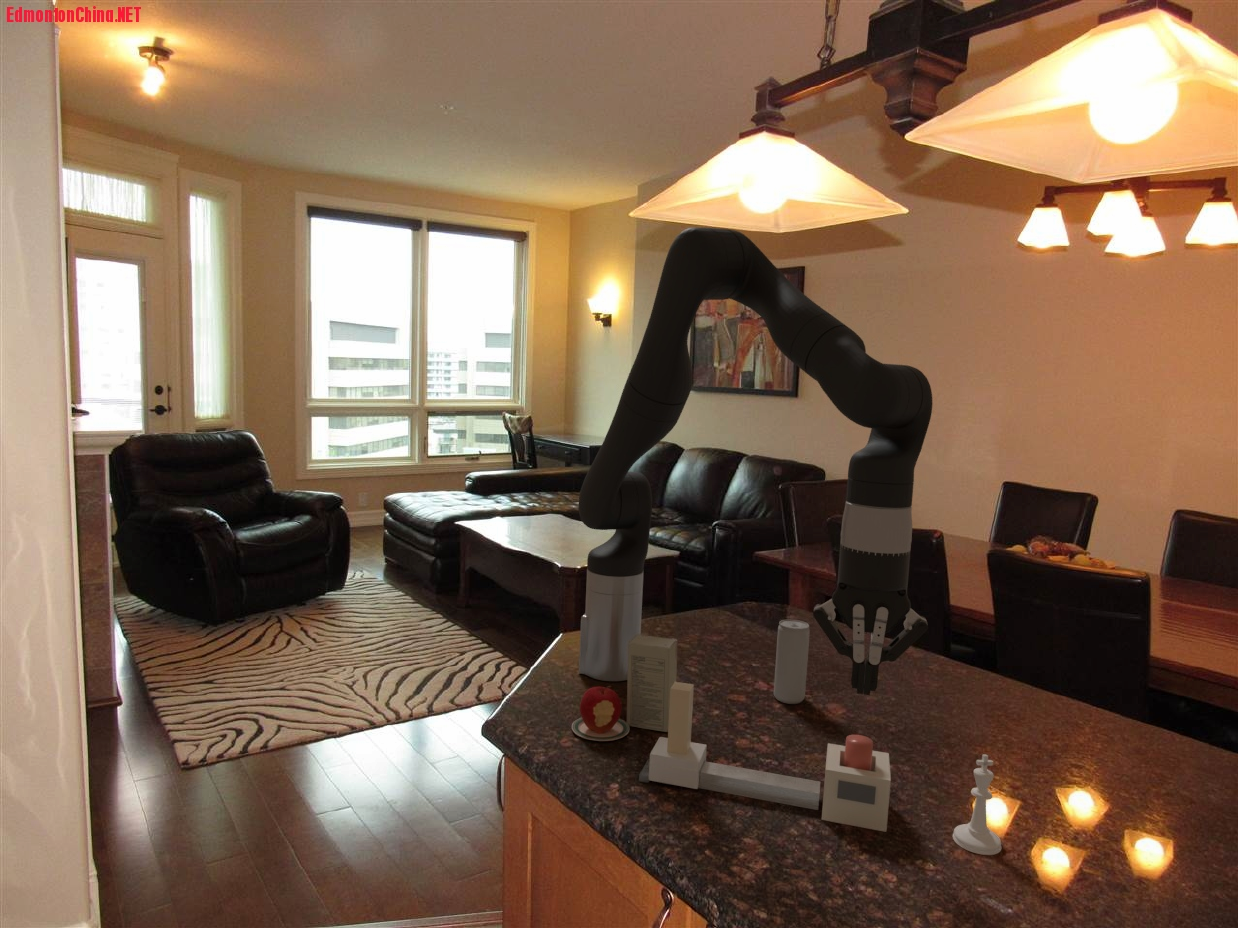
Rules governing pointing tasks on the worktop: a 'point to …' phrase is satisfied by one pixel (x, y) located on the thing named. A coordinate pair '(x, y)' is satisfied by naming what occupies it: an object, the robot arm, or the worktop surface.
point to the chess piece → (979, 816)
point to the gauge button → (858, 752)
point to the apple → (600, 716)
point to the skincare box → (650, 681)
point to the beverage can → (791, 661)
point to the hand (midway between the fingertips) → (863, 692)
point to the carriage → (678, 744)
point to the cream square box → (856, 791)
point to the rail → (754, 784)
